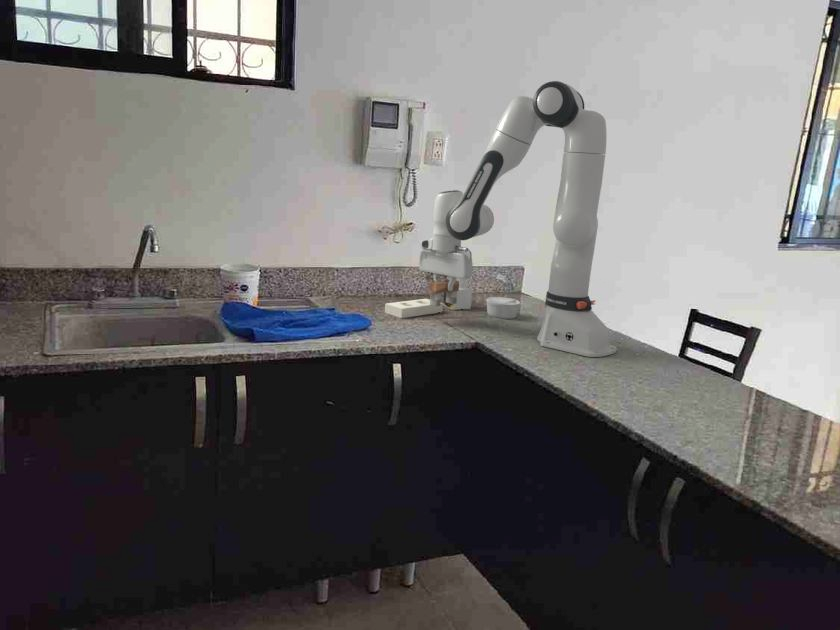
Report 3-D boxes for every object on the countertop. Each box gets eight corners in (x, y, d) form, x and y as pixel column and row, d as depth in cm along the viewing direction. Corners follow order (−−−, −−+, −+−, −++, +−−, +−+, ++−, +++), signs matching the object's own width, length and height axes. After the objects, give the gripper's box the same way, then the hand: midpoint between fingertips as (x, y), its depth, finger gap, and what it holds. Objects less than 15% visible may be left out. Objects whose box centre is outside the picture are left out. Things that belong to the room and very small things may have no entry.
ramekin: (520, 321, 215) (522, 305, 214) (486, 318, 215) (487, 302, 214) (516, 313, 226) (518, 298, 224) (483, 311, 226) (485, 295, 225)
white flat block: (442, 312, 219) (442, 303, 218) (401, 318, 207) (401, 308, 206) (425, 307, 225) (426, 298, 224) (384, 312, 213) (385, 303, 212)
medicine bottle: (442, 305, 230) (445, 271, 227) (460, 304, 233) (463, 271, 230) (452, 310, 223) (455, 274, 221) (470, 309, 226) (473, 274, 224)
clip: (457, 303, 208) (459, 281, 207) (435, 306, 202) (436, 283, 200) (451, 301, 210) (452, 279, 209) (428, 304, 204) (429, 282, 202)
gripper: (478, 247, 197) (475, 293, 200) (430, 240, 211) (428, 283, 214) (464, 249, 193) (461, 295, 196) (416, 241, 207) (414, 285, 210)
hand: (444, 289), depth 205 cm, fingers closed on clip, 3 cm apart
